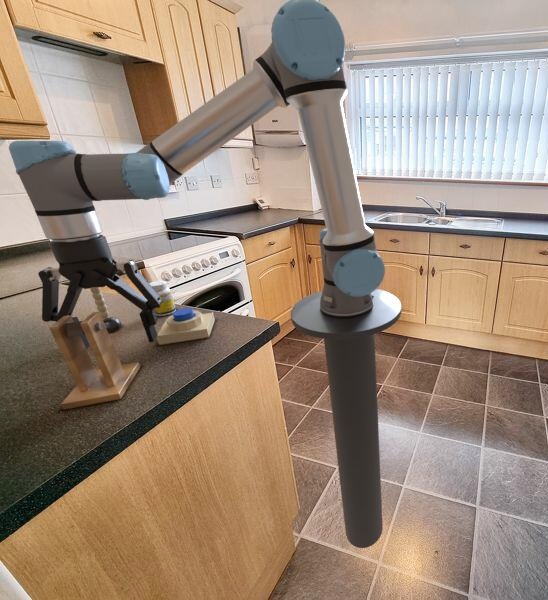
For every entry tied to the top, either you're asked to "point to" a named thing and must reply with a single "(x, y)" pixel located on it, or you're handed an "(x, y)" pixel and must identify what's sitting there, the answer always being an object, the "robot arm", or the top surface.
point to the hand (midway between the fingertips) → (119, 344)
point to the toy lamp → (100, 302)
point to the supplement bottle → (163, 298)
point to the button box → (186, 328)
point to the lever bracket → (89, 380)
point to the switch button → (183, 314)
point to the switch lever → (76, 330)
